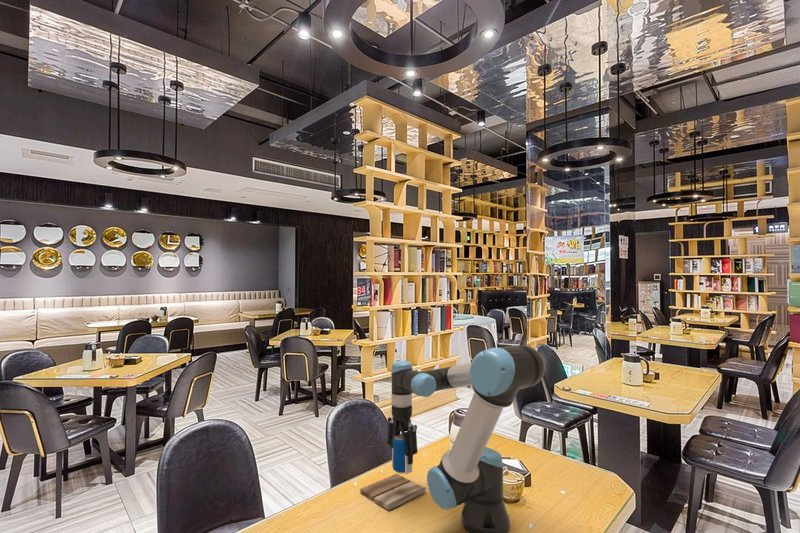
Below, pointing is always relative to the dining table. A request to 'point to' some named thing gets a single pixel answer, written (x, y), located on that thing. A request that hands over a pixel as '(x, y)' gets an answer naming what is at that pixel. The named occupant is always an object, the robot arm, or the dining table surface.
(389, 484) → the walnut board
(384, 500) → the plank
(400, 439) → the beverage can
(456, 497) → the robot arm
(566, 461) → the dining table surface
